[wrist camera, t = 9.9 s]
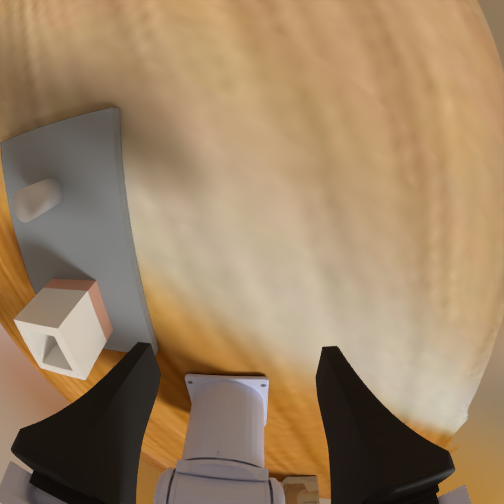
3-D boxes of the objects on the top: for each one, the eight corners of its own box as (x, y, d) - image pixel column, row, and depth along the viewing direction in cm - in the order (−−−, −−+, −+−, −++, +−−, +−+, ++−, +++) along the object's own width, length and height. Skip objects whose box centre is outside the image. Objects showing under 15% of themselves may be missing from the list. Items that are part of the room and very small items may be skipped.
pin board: (158, 348, 24) (145, 385, 20) (59, 333, 24) (40, 361, 20) (119, 107, 15) (82, 107, 11) (7, 141, 15) (-29, 151, 11)
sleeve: (113, 330, 22) (85, 380, 16) (70, 324, 22) (40, 367, 16) (96, 280, 20) (57, 328, 14) (52, 278, 20) (13, 319, 14)
